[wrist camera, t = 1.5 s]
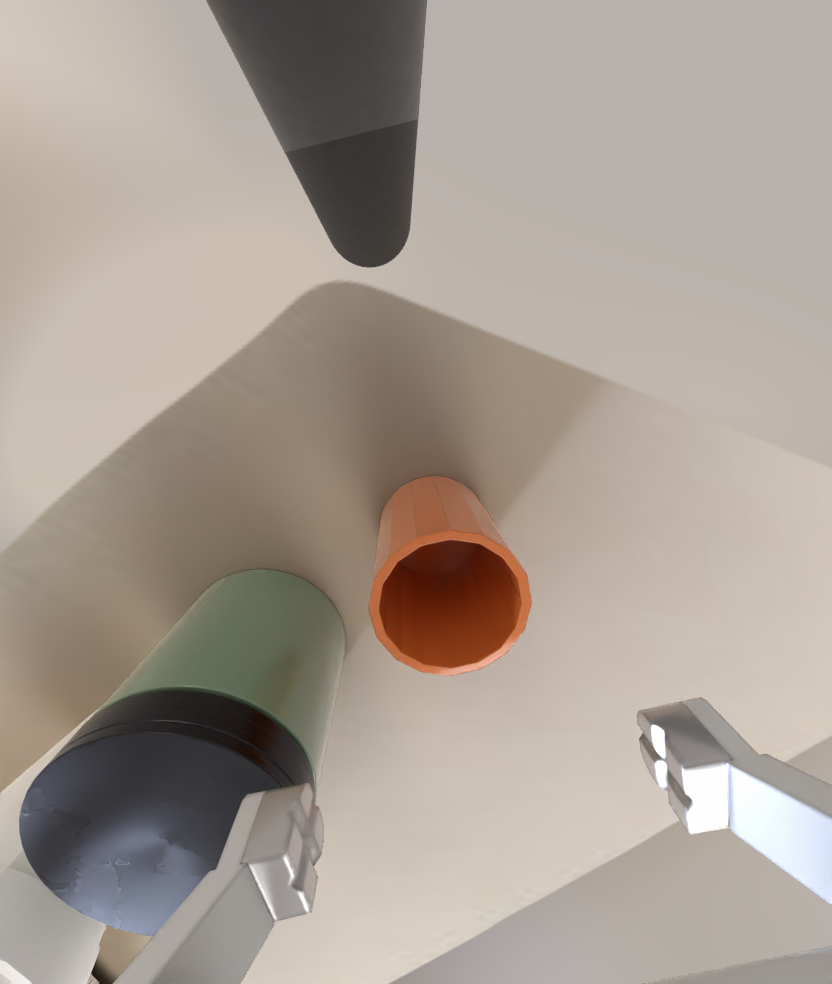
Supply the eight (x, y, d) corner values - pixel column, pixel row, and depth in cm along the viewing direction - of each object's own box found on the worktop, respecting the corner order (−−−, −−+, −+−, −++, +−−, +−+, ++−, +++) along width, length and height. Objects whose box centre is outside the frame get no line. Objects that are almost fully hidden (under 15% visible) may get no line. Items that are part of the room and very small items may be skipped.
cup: (368, 489, 24) (351, 552, 16) (475, 464, 24) (516, 514, 16) (394, 585, 26) (391, 689, 18) (494, 562, 26) (541, 656, 17)
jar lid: (15, 720, 16) (-38, 768, 14) (272, 663, 16) (254, 704, 14) (124, 899, 19) (93, 959, 17) (344, 852, 18) (338, 909, 16)
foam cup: (62, 779, 29) (-189, 1081, 17) (60, 669, 27) (-235, 925, 14) (201, 795, 30) (60, 1095, 18) (211, 690, 28) (57, 949, 15)
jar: (163, 588, 26) (-19, 753, 14) (320, 552, 25) (259, 692, 14) (220, 717, 28) (103, 939, 17) (363, 685, 28) (339, 890, 17)
